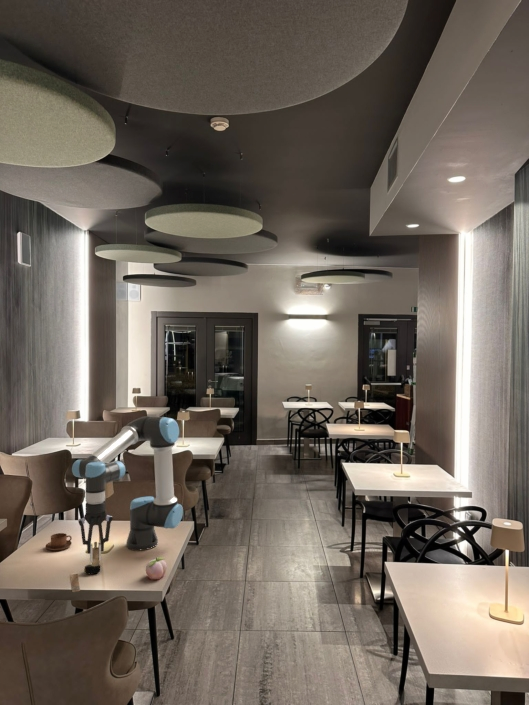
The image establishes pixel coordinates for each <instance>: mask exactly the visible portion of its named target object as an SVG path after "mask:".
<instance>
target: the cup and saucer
mask: <svg viewBox="0 0 529 705" xmlns="http://www.w3.org/2000/svg"><path fill="white" fill-rule="evenodd" d="M68 537H69V539H68ZM71 540H72V536H71V535H67V533H63V532H60V533H54V534H53V533H52V534H51V535H50V541H49V542H48V543H46V545H45V548H46V549H47V550H49V551H62V550H65V549H67V548H70V547H71V546H72V541H71Z"/></svg>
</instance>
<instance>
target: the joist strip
mask: <svg viewBox="0 0 529 705" xmlns="http://www.w3.org/2000/svg"><path fill="white" fill-rule="evenodd" d="M69 576H70V583H71V591H72V593H76V592H80V591H81V587H80V580H79V573H72V574H70V575H69Z"/></svg>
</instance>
